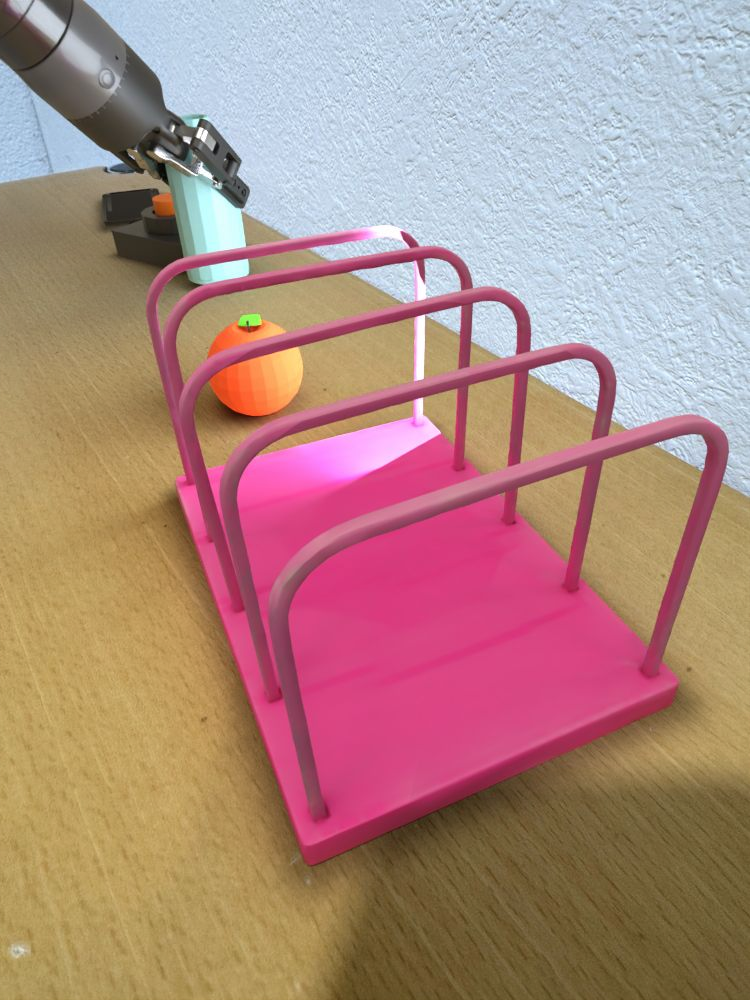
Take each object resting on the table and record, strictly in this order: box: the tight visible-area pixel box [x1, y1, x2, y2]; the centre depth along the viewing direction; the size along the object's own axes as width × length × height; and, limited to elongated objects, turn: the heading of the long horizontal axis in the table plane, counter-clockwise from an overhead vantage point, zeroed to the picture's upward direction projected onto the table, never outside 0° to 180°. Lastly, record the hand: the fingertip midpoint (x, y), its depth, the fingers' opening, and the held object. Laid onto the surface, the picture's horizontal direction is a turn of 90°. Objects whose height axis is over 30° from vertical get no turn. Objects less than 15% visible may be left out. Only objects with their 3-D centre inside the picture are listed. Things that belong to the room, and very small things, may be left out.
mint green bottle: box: [165, 113, 250, 286], centre depth 68 cm, size 6×6×14 cm
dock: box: [111, 206, 187, 273], centre depth 80 cm, size 11×9×5 cm
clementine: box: [206, 313, 304, 417], centre depth 51 cm, size 8×7×7 cm
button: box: [152, 192, 175, 216], centre depth 78 cm, size 4×4×2 cm
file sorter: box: [145, 225, 730, 866], centre depth 33 cm, size 17×25×16 cm
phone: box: [101, 187, 161, 231], centre depth 94 cm, size 8×1×15 cm
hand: (217, 195), depth 69 cm, fingers closed on mint green bottle, 6 cm apart
